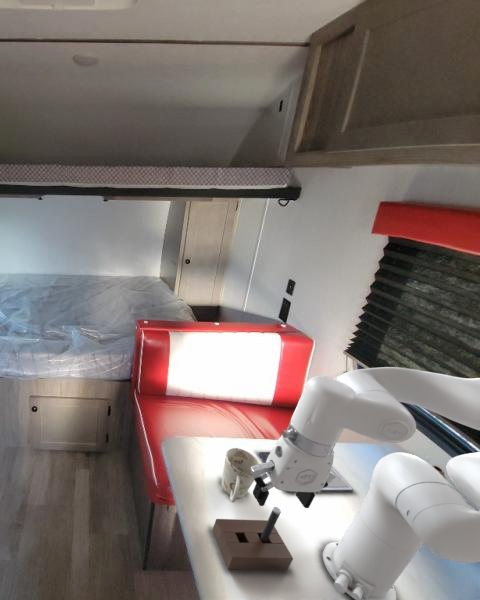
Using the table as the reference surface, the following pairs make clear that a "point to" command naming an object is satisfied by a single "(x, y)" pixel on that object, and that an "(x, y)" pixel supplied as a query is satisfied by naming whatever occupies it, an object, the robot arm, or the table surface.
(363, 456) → the table surface
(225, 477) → the mug
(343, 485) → the tablet
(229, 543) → the pen stand
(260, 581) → the table surface
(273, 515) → the stylus
